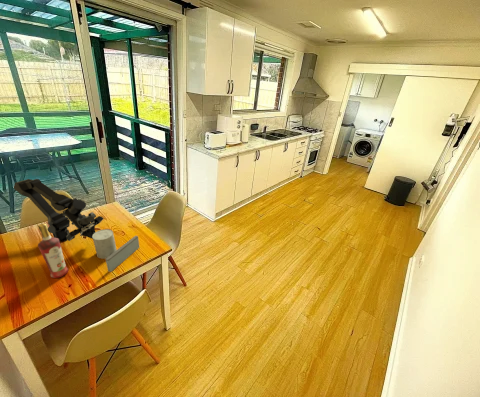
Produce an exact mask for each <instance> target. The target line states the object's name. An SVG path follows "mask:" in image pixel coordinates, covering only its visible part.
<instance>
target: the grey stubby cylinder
mask: <svg viewBox="0 0 480 397" xmlns="http://www.w3.org/2000/svg"><path fill="white" fill-rule="evenodd" d="M92 238H93V239H92ZM92 238H91V239H92V240H93V245H94V248H95V252H96V256H97V258H99V259H104V260H105V259H106V258H107V257H109V256H110V255H111V254H113V253H114V252H115V251H116V250H118V248H117V246H116V240H115V235H114V231H113V230H112V229H109V228H105V229H99V230H97V231H95V233H94V234H93V236H92Z"/></svg>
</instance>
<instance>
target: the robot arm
mask: <svg viewBox="0 0 480 397" xmlns="http://www.w3.org/2000/svg"><path fill="white" fill-rule="evenodd" d="M13 190H14V191H16V192H18V194H19V195H21V196H22V197H27V198H28V199H30V201H31V202H32V203H33V204H34V205H35V206H36V207H37V208H38V209H39V210H40V212H41V213H42V214H43V215H44V216H45V217H46V218H47V225H49V226H47V227H48V232H49V234H52V237H54V238H58V239H59V242H66V241H68V242H71V241H72V240H74V239H76V238H75V237H76V236H77V235H78V234H80V235H79V236H80V237H86V238H89V239H91V240H93V238H92V236H93V234H94V233H95V232H96V226H97V225H99V224H100V223H102V221H103V220H104V217H103V216H100V215H99V216H97V215H96V213H94V212H93V211H91V212H90V213H88V215H85V214H82V212H83V211H84V210H85V209H86V207H87V203H86V202H85V201H84V200H82V199H78V198H76V197H75V198H70V197H69V196H66V195H65V194H61V193H58V192H56V191H54V190H53V189H52V188H51V187H49V186H48V185H45V184H44V183H43V182H42V180H40V179H39V178H35V179H30V178H27V179H23V180H21V181H16V182H14V185H13ZM47 200H48V201H49V202H50V203H49V202H48V201H47ZM57 211H58V212H57ZM61 211H62V212H61ZM59 212H61V213H59ZM70 225H72V226H73V225H74V226H75V227H76V228H75V229H73V230H72V231H70V230H69V229H68V228H70Z"/></svg>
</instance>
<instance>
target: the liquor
mask: <svg viewBox="0 0 480 397" xmlns="http://www.w3.org/2000/svg"><path fill="white" fill-rule="evenodd" d="M47 225H48V224H46V223H41V224H39V225H38V230H39V232H40V233H41V236H42V239H41V241H39V242H38V244H37V248H38V249H39V252H40V253H41V256H42V257H43V259H44V261H45V264H46V265H47V268H48V271H49V272H50V275H49V276H50V277H51V278H56V279H57V278H63V276H65V275H66V274H67V273H68V272H69V268H68V267H67V265H66V264H67V263H66V262H65V258H64V254H63V250H62V249H63V248H62V245H61V243H60V242H61V241H59V239H58V238H54V236H51V233H50V232H49V231H48V227H49V226H47Z"/></svg>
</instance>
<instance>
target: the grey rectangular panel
mask: <svg viewBox="0 0 480 397" xmlns="http://www.w3.org/2000/svg"><path fill="white" fill-rule="evenodd" d="M139 248H140V240H139V236H138V235H134V236H133V237H132V238H131V239H129V240H128V241H127V242H126V243H124V244H123V245H121V246H120V247H118V248H117V250H116V251H115V252H114V253H113V254H111V255H110V256H109V257H107V258H105V259H104V260H105V264H106V268H107V272H110V273H112V272H113V271H114V270H115V269H116V268H117V267H119V265H121V264H122V263H123V262H125V261H126V260H127V258H129V257H130V256H131V255H133V254H134V253H135V252H136V251H137V250H138V249H139Z"/></svg>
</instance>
